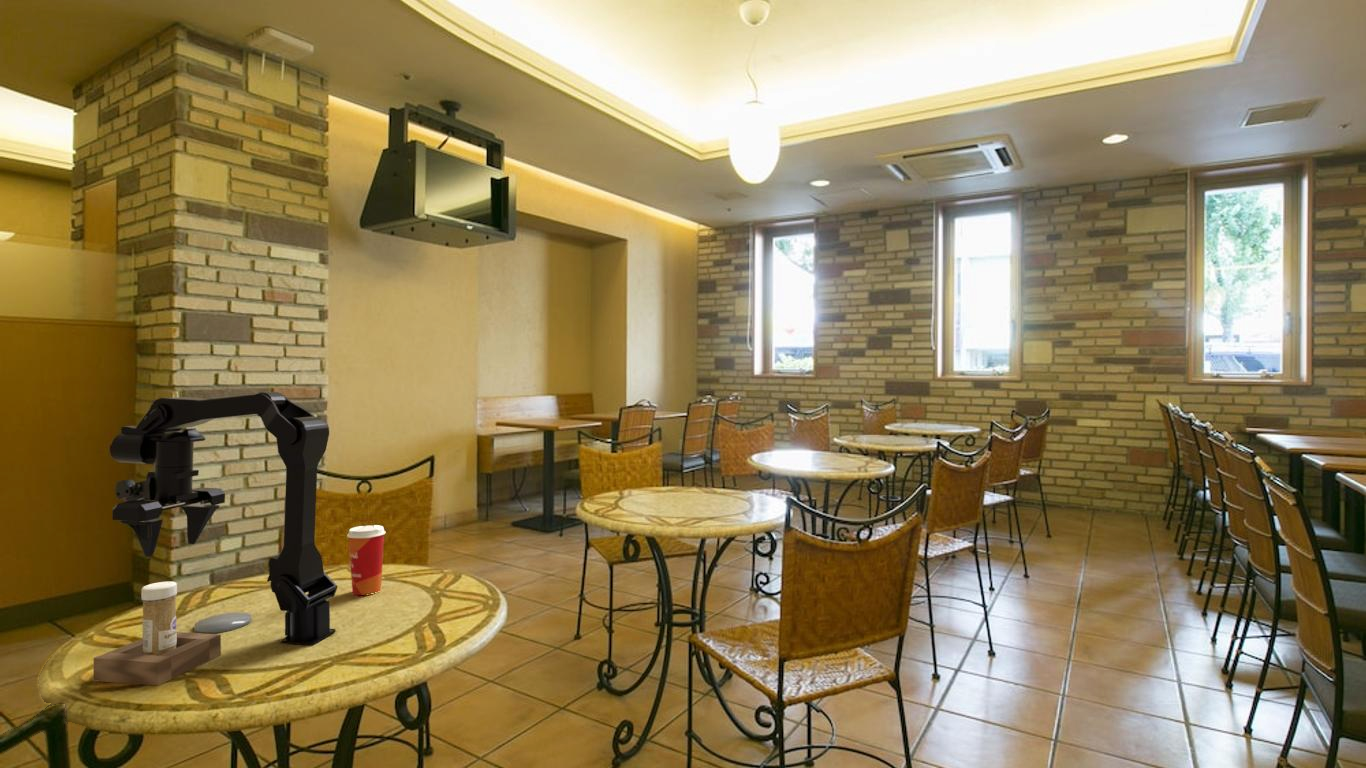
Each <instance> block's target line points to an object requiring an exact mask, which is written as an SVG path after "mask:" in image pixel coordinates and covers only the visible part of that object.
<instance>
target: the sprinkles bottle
mask: <svg viewBox="0 0 1366 768" xmlns="http://www.w3.org/2000/svg"><path fill="white" fill-rule="evenodd" d="M177 594H178V583H177V582H176V581H159V582H154V583H150V584H147V585H144V586H142V588H141V598H140V599H141V600H142V639H143V652H144V655H154V656H160V655H162V654H164V653H166V652H169V651H171V650H173V649H176V644H177V632H178V631H177V630H178V629H177V627H178V626H177V615H176V614H177V606H176V604H177V601H176V600H177V598H176V597H177Z"/></svg>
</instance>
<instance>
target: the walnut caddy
mask: <svg viewBox="0 0 1366 768" xmlns="http://www.w3.org/2000/svg"><path fill="white" fill-rule="evenodd" d="M221 640H222V635H221V634H218V633H198V632H184V631H183V632H182V631H177V644H176V649H173V650H171V651H169V652H166V653H164V654H162V655H160V656H154V655H144V652H143V638H140V639H138V640H136V641H135V640H134V641H133V642H130V643H127V644H126V645H122V646H120V647H118V648H115V649H113V650H110V651H108V652H105V653H103V654H101V655H97V656H96V657H93V659H92V660H93V681H95V682H105V683H106V682H108V683H117V684H118V683H119V684H132V685H144V686H145V685H147V686H156V687H159V686H160V685H162V684H165V683H166V682H167V683H168V681H170V680H173V679H175V678H177V677H179V676H181V675H184V674H186V673H187V672H190V671H191V670H193V669H196V668H198V667H200V666H202V665H204V664H206V663H208V662H210V661H212V660H214V659H216V658H218V657H220V656H221V655H222V651H221V650H222V648H221V647H222V645H221V644H222V643H221Z"/></svg>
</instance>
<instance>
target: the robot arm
mask: <svg viewBox="0 0 1366 768" xmlns="http://www.w3.org/2000/svg"><path fill="white" fill-rule="evenodd" d="M253 415H257V416H258V417H259V418H260V419H261V421H262V423H263V426H264V428H265V429H266V430H267V431H268V432H269V433H270V434H271V435H272V436H274V438H275V440H276V448H277V453H278V455H279V457H280V459H281V460H282V462H283V464H284V466H285V471H286V472H285V492H284V494H285V495H284V521H283V522H284V523H283V545H282V549H281V551H280V553H279V554H277V555H274V556H272V557H270V558H269V560H268V571H269V573H268V577H267V580H266V581H267V582H268V583H269V582H270V590H271V592H272V593H274V595H275V599H276V601H277V605H278V607H279V609H280V611H283V612H285V613H284V633H285V635H284V636H285V637H282V638H280V641H279V642H280V643H281V644H297V645H314V644H316V643H319V642H320V641H322V640H323V639H325V638H327V637H329V636H330V635H333V634H335V633H336V628H331V625H330V624H331V622H330V621H331V620H330V619H331V617H330V616H331V613H330V612H331V607H330V606H331V605H330V604H331V602H330V600H328V599H330V598H334V597H335V595H336V593H337V590H338V584H336V583H335V581H334V580H333V579H332V578H331V577H330V576H328V574H327V573H326V572H325V571H324V570H325V569H324V561H323V557H322V555H321V553H320V551H319V549H318V547H317V546H316V544H315V543H316V542H315V541H316V540H315V538H316V537H315V535H316V514H317V512H316V511H317V509H316V508H317V507H316V506H317V505H316V504H317V488H318V487H317V482H318V468H319V467H318V466H319V464H320V462H321V460H322V458H323V456H324V454H325V453H326V451H327V446H328V442H329V436H330V428H329V424H328V423H326V421H324V419H322V418H320V416H315V415H314V414H313V413H311V411H309V410H307V409H305V408H304V407H302V406H300V405H298V404H297V403H295V402H294V401H292V400H291V399H289V398H288V397H287V396H285V395H284V394H283V393H280V392H278V391H267V392H266V391H262V392H257V393H255V394H246V395H245V394H244V395H237V396H235V395H234V396H229V397H227V396H226V397H218V398H209V399H208V398H205V397H204V398H203V397H192V396H191V397H190V396H185V397H179V396H178V397H159V398H156V399H154V400H153V401H152V403H151V404H150V408H149V409H148V411H147V412H146V413H145V415H144V416H143V418H141V420H140V421H139V423H138V424H137V425H125V426H121V428H120V433H119V434H116V435H115V437H114V438H113V440H112V442H111V444H110V445H109V453H110V455H111V458H112V459H113V460H114V461H115V462H118V463H125V464H127V463H128V464H141V465H143V464H145V465H152V464H154V467H153V468H154V470H152V471H147V474H146V477H145V480H143V481H137V482H135V481H134V480H133V479H124V480H120V481H117V482H116V484H115V496H116V498H117V499H118V500H119V501H121V500H125V501H124V502H123V501H122V502H119V503H116V504H115V505H114V507H112V516H111V517H112V521H113V520H114V521H118V522H119V523H120V524H126V525H127V526H128V527H130V528H131V529H132V530H133V532H134V533H135V536H136V538H137V540H138V543H139V545H140V548H141V550H142V552H143V554H144V556H145V557H148V558H151V557H153V556H154V554H155V550H156V548H157V544H158V540H159V536H160V532H161V528H162V525H163V521H164V520H163V518H159V517H160V516H161V515H162V514H163V511H168V510H172V509H176V508H181V509H182V511H183V512H184V514H185V515H186V530H187V531H186V532H187V534H186V535H187V536H186V538H187V543H188V544H189V545H194V544H196V543H197V541H198V539H199V537H200V535H201V534H202V533H203V530H204V529H205V527H206V525H207V524H208V522H209V521H210V520H211V518H212V516H213V515H214V513H215V512H216V511H217V510H218V509H220V508H221V504H225V503H226V493H225V491H224V490H223V489H222V488H220V487H219V488H218V487H201V486H200V487H195V488H193V481H194V480H193V479H194V478H193V477H198V476H199V475H200V474H199V469H194V450H195V449H194V448H195V443H197V442H204V441H205V440H206V437H205V436H204V435H203V434H202V433H199V431H198V430H197V429H196V428H195V427H197V426H200V425H203V424H206V423H208V422H210V421H213V420H216V419H217V420H218V419H224V418H235V417H243V416H244V417H245V416H246V417H247V416H253ZM192 427H193V428H192Z"/></svg>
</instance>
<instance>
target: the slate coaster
mask: <svg viewBox="0 0 1366 768" xmlns="http://www.w3.org/2000/svg"><path fill="white" fill-rule="evenodd" d="M251 622H252V614H251V613H248V612H243V611H242V612H226V613H221V614H220V613H219V614H215V615H211V616H209V617H205V618H202V619H200V620H198V621H196V622H195V623H194V626H193V627H194V633H202V634H218V633H225V632H229V631H233V630H237V629H241V628H242V627H245V626H247V625H249V624H250V623H251Z"/></svg>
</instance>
